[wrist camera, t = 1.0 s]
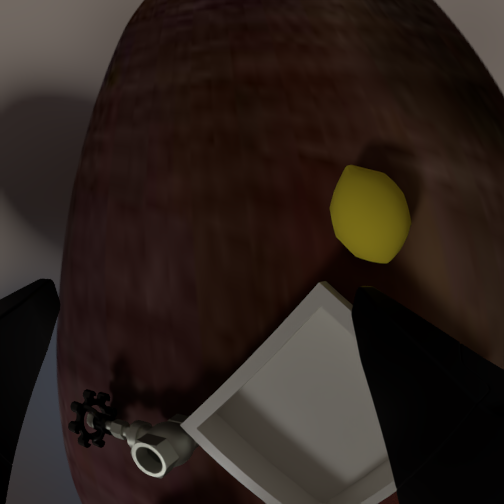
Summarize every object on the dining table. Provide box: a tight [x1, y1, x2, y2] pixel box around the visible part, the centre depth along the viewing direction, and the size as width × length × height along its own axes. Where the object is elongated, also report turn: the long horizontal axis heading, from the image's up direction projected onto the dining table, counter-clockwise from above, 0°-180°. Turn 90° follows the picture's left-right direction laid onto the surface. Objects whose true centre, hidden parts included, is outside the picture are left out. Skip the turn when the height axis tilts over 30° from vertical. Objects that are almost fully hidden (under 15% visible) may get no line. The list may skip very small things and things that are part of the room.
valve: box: [68, 389, 199, 478], centre depth 24 cm, size 7×7×12 cm
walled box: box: [180, 281, 397, 504], centre depth 20 cm, size 15×15×4 cm
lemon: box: [330, 165, 411, 263], centre depth 20 cm, size 7×5×5 cm
